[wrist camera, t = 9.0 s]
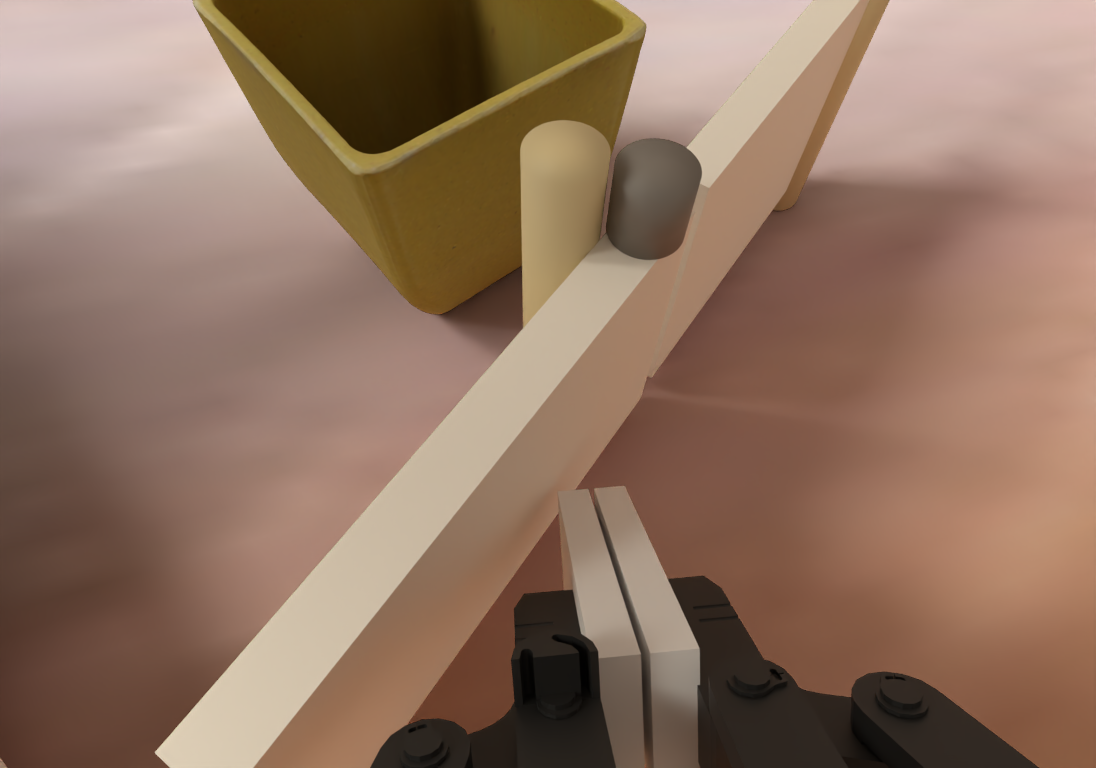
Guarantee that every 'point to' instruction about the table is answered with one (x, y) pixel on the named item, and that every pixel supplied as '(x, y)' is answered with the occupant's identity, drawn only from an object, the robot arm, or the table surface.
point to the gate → (457, 506)
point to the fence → (725, 157)
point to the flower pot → (425, 115)
